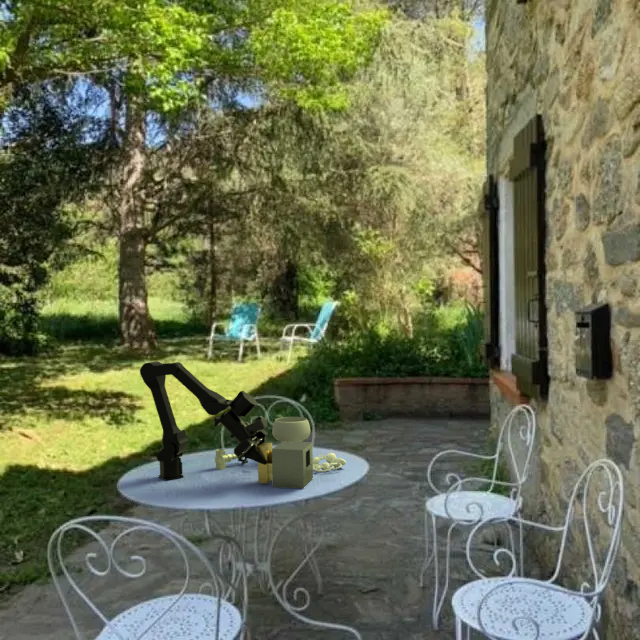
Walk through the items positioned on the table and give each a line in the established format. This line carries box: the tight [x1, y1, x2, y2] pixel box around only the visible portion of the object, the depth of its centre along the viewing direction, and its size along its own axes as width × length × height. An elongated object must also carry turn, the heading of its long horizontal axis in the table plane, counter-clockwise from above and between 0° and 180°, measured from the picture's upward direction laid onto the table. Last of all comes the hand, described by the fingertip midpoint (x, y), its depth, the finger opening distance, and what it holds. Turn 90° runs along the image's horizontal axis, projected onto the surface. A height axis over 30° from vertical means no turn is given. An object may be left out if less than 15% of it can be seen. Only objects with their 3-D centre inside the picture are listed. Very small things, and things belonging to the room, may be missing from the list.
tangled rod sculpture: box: [313, 452, 347, 473], centre depth 233 cm, size 19×14×4 cm
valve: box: [214, 448, 249, 471], centre depth 239 cm, size 7×7×12 cm
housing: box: [272, 441, 314, 489], centre depth 215 cm, size 10×12×12 cm
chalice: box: [271, 416, 311, 443], centre depth 248 cm, size 14×14×15 cm
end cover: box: [257, 442, 273, 484], centre depth 217 cm, size 11×6×12 cm, turn 77°
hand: (269, 461), depth 217 cm, fingers closed on end cover, 6 cm apart
